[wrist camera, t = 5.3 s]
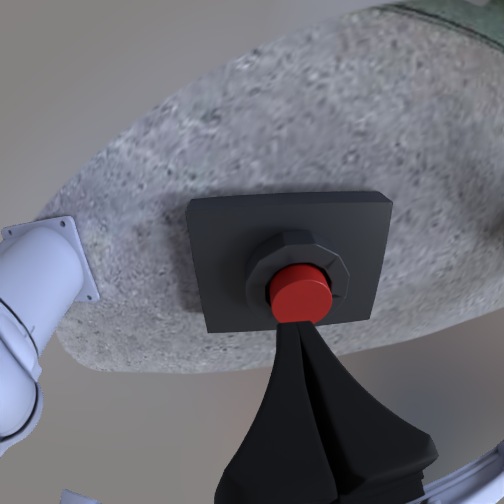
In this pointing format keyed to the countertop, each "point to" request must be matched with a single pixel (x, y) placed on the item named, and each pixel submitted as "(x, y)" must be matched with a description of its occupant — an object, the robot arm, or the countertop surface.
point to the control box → (286, 252)
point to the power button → (299, 294)
